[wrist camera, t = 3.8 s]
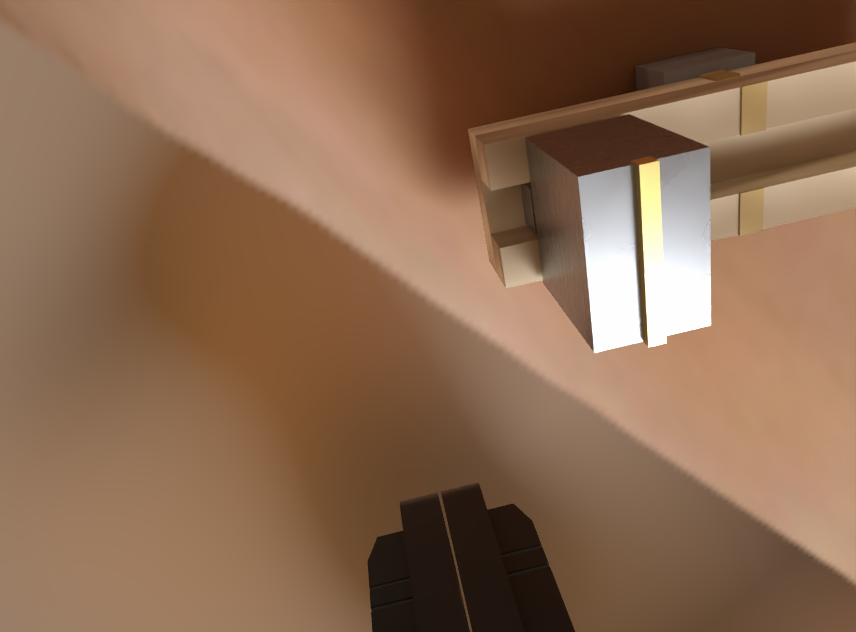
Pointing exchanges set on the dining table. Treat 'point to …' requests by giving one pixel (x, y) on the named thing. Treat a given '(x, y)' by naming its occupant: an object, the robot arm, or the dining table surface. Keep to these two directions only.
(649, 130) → the block
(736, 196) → the beam
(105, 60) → the dining table surface
